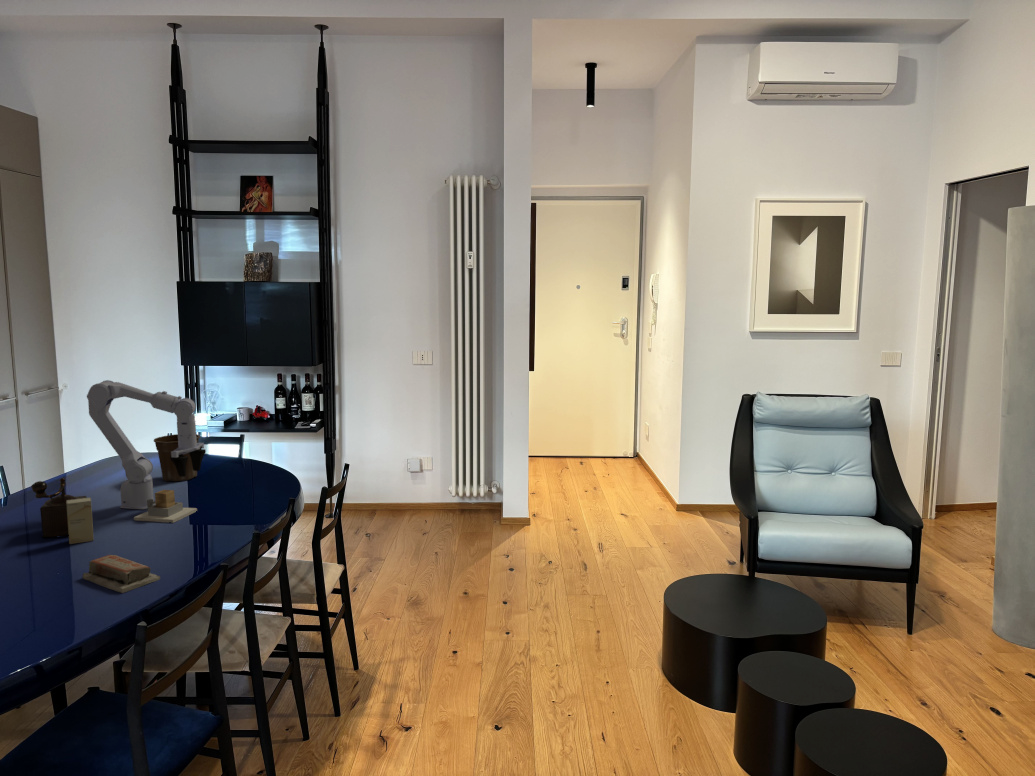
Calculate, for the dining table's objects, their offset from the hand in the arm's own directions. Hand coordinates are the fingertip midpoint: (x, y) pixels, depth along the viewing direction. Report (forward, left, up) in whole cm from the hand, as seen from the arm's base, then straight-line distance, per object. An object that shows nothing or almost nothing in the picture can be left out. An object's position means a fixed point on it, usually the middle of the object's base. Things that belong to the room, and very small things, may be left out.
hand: (189, 473), depth 243 cm
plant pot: (-25, +29, -11) cm, 40 cm away
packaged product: (+23, -62, -11) cm, 67 cm away
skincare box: (-8, -39, -11) cm, 42 cm away
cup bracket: (+1, -14, -10) cm, 18 cm away
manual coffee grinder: (-18, -35, -11) cm, 41 cm away
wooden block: (+1, -14, -9) cm, 17 cm away
